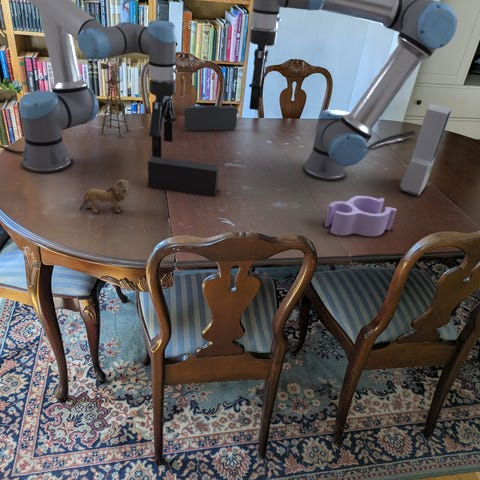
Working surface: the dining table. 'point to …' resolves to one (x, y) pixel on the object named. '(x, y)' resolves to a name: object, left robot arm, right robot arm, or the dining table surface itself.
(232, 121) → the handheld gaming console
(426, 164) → the electronic device
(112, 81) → the miniature windmill
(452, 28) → the right robot arm
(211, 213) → the dining table surface
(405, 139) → the sword
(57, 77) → the left robot arm
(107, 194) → the lion figurine
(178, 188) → the bar
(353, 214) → the clip
